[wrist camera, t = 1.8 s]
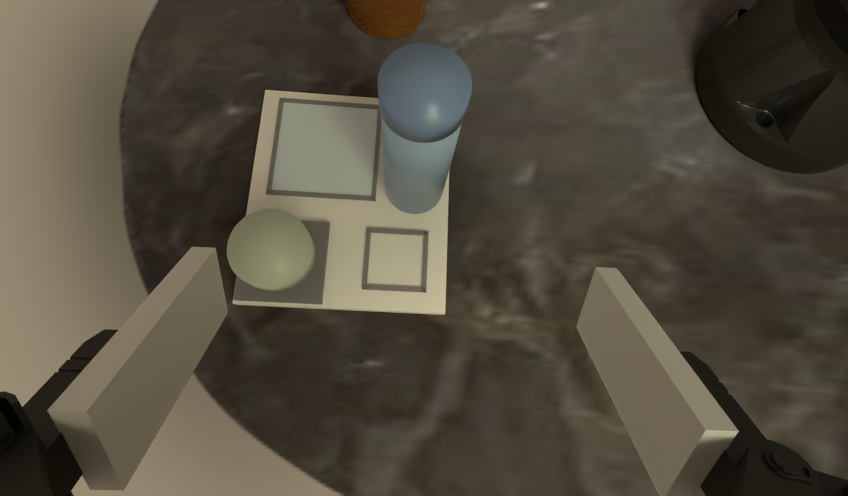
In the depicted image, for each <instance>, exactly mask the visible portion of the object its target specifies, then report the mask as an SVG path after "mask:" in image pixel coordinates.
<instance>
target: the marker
mask: <svg viewBox="0 0 848 496" xmlns="http://www.w3.org/2000/svg"><path fill="white" fill-rule="evenodd" d="M471 93H472V79H471V75H470V72H469V70H468V68H467V66H466V64H465V63H464V61H463V60H462V59H461V58H460V57H459V56H458V55H457V54H455V53H454V52H453V51H451V50H449V49H447V48H445V47H443V46H440V45H437V44H433V43H413V44H408V45H405V46H403V47H401V48H398V49H397V50H395V51H394V52H392V53H391V54H390V55H389V56H388V57H387V58H386V59H385V61H384V62H383V64H382V66H381V68H380V70H379V74H378V98H379V109H380V113H381V130H382V146H383V162H384V178H385V191H386V195H387V197H388V199H389V201H390V202H391V203H392V205H393V206H394V207H396V208H397V209H398V210H400V211H402V212H405V213H409V214H421V213H425V212H427V211H429V210H431V209H432V208H434V207H435V206H436V205H437V204H438V202H439V201H440V199H441V197H442V194H443V190H444V186H445V183H446V179H447V176H448V172H449V168H450V165H451V161H452V158H453V154H454V150H455V147H456V143H457V140H458V136H459V132H460V129H461V125H462V122H463V120H464V118H465V115H466V111H467V108H468V104H469V100H470V97H471Z"/></svg>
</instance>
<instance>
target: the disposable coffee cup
mask: <svg viewBox="0 0 848 496" xmlns="http://www.w3.org/2000/svg"><path fill="white" fill-rule="evenodd" d="M346 2H347V6H348V9H349V13H350V16H351V18H352V20H353V22H354V23H355V24H356V25H357V26H358V27H359V28H360V29H361V30H362V31H363V32H365V33H367V34H369V35H371V36H374V37H378V38H385V39H389V38H397V37H401V36H404V35H407V34H408V33H410V32H412V31H413V30H414V29H415V28H416V27H417V26H418V25H419V24H420V22H421V21H422V18H423V16H424V11H425V7H426V3H427V0H346Z"/></svg>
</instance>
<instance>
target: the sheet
mask: <svg viewBox="0 0 848 496" xmlns="http://www.w3.org/2000/svg"><path fill="white" fill-rule="evenodd" d="M448 197H449V172H448V176H447V179H446V183H445V186H444V190H443V194H442V197H441V199H440V201H439V202H438V204H437V205H436V206H435V207H434V208H432V209H431V210H429V211H427V212H425V213H421V214H409V213H405V212H402V211H400V210H398V209H397V208H396V207H394V206H393V205H392V203H391V202H390V201H389V199H388V197H387V195H386V191H385V178H384V162H383V146H382V130H381V113H380V109H379V98H369V97H355V96H342V95H328V94H315V93H301V92H288V91H274V90H265V95H264V101H263V108H262V114H261V121H260V127H259V134H258V140H257V147H256V153H255V160H254V166H253V173H252V179H251V186H250V192H249V199H248V205H247V212H246V216H247V215H249V214H251V213H253V212H255V211H258V210H262V209H280V210H284V211H287V212H289V213H291V214H293V215H294V216H296V217H297V218H298V219H299V220H300V221H301V222H302V223H303V225H304V226H305V227H306V229H307V230H308V232H309V233H310V235H311V237H312V238H313V241H314V244H315V248H316V258H315V263H314V266H313V268H312V270H311V272H310V274H309V275H308V277H307V278H306V279H305V280H304V281H303V282H302V283H300V284H299V285H298V286H296V287H294V288H292V289H290V290H287V291H283V292H266V291H262V290H260V289H258V288H256V287H254V286H252V285H250V284H248V283H246V282H244V281H243V280H241V279H240V278H239V277H238V276H237V277H236V283H235V290H234V296H233V304H236V305H250V306H270V307H291V308H312V309H333V310H354V311H374V312H395V313H416V314H437V315H444V314H445V303H446V268H447V232H448Z"/></svg>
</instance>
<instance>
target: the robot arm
mask: <svg viewBox="0 0 848 496" xmlns="http://www.w3.org/2000/svg"><path fill="white" fill-rule="evenodd" d="M696 78H697V86H698V91H699V95H700V98H701V101H702V103H703V106H704V108H705V110H706V112H707V114H708V115H709V117H710V119H711V120H712V122H713V123H714V125H715V126H716V127H717V129H718V130H719V131H720V132H721V133H722V134H723V136H724V137H725V138H726V139H727V140H728V141H729V142H731V143H732V144H733V145H734V146H735V147H736V148H738V149H739V150H740V151H742V152H743V153H745V154H746V155H748V156H749V157H751V158H753V159H754V160H756V161H758V162H760V163H762V164H765V165H767V166H770V167H772V168H775V169H778V170H782V171H786V172H792V173H801V174H812V173H821V172H826V171H829V170H832V169H835V168H838V167H840V166H842V165H844V164H847V163H848V0H752V1H750V2H749V3H747V4H745V5H743V6H742V7H740V8H739V9H737V10H736V11H735V12H734V13H732V14H731V15H730V16H729V17H728V18H727V19H726V20H725V21H724V22H723V23H722V24H721V25H720V26H719V27H718V28H717V29H716V30H715V31H714V32H713V33H712V34H711V35H710V36H709V38H708V39H707V40H706V42H705V43H704V45H703V47H702V49H701V52H700V54H699V58H698V62H697V70H696ZM227 313H228V309H227V304H226V299H225V294H224V289H223V284H222V278H221V273H220V268H219V263H218V258H217V253H216V248H209V247H191V249H190V250H189V251H188V252H187V253H186V254H185V255H184V256H183V258H182V259H181V260H180V261H179V262H178V263H177V264H176V265H175V267H174V268H173V269H172V270H171V271H170V272H169V273H168V275H167V276H166V277H165V278H164V279H163V280H162V281H161V282H160V284H159V285H158V286H157V287H156V288H155V289H154V290H153V291H152V293H151V294H150V295H149V296H148V297H147V298H146V299H145V300H144V302H143V303H142V304H141V305H140V306H139V307H138V308H137V310H136V311H135V312H134V313H133V314H132V315H131V317H130V318H129V319H128V320H127V321H126V322H125V323H124V324H123V325H122V327H121V328H120V329H119V330H103V331H101V332H100V333H98V334H97V335H95V336H93V337H92V338H90V339H89V340H87V341H85V342H84V343H83V344H82V345H81V346H80V347H79V349H77V351H76V352H75V353H74V354H73V355H72V356H71V358H70V360H67V361H66V362H65V363H64V364H63V365H62V366H61V368H59V371H58V372H56V373H55V374H54V375H53V376H52V377H51V378H50V379H49V380H48V381H47V382H46V383H45V384H44V385H43V386H42V387H41V388H40V390H38V391H37V393H36V394H35V395H34V396H33V397H32V398H31V399H30V400H29V401H28V402H27V403H26V404H25V405H24V406H23V407H22V406H21V404H20V403H19V401H18V399H17V398H16V396H15V395H14V394H11V393H7V392H0V496H73V494H72V492H71V490H72V488H73V487H74V486H75V484H76V483H77V481H78V480H79V478H80V477H81V476H83V477H84V479H85V481H86V483H87V485H88V487H89V489H90V490H124V489H125V487H126V486H127V484H128V482H129V480H130V479H131V477H132V475H133V474H134V472H135V470H136V469H137V467H138V465H139V463H140V462H141V460H142V458H143V457H144V455H145V453H146V452H147V450H148V448H149V446H150V445H151V443H152V441H153V439H154V438H155V436H156V434H157V433H158V431H159V429H160V427H161V426H162V424H163V422H164V421H165V419H166V417H167V416H168V414H169V412H170V411H171V409H172V407H173V406H174V404H175V402H176V400H177V399H178V397H179V395H180V393H181V392H182V390H183V388H184V387H185V385H186V383H187V382H188V380H189V378H190V377H191V375H192V373H193V371H194V370H195V368H196V366H197V365H198V363H199V361H200V360H201V358H202V356H203V354H204V353H205V351H206V349H207V348H208V346H209V344H210V342H211V341H212V339H213V337H214V336H215V334H216V332H217V331H218V329H219V327H220V325H221V324H222V322H223V320H224V319H225V317H226V315H227ZM576 328H577V330H578V332H579V334H580V336H581V338H582V340H583V342H584V344H585V346H586V348H587V350H588V352H589V354H590V356H591V358H592V360H593V362H594V364H595V366H596V368H597V370H598V372H599V374H600V376H601V378H602V380H603V383H604V385H605V387H606V389H607V391H608V393H609V395H610V397H611V399H612V401H613V403H614V405H615V407H616V409H617V411H618V413H619V415H620V417H621V419H622V421H623V423H624V425H625V427H626V429H627V431H628V433H629V435H630V437H631V439H632V441H633V443H634V445H635V448H636V450H637V452H638V454H639V456H640V458H641V460H642V462H643V464H644V466H645V468H646V470H647V472H648V474H649V476H650V478H651V480H652V482H653V484H654V486H655V488H656V490H657V492H658V494H659V496H696V494H697V493H698V491H699V490H700V488H702V490H703V492H704V493H705V495H706V496H848V480H845V479H842V478H839V477H835V476H832V475H828V474H825V473H822V472H818V471H815V470H813V469H812V467H811V466H810V465H809V463H808V462H806V461H805V460H804V459H803V458H802V457H801V456H800V455H798V454H797V453H796V452H794V451H792V450H791V449H789V448H788V447H786V446H784V445H782V444H779V443H776V442H774V441H771V440H767V439H766V438H765V437H764V436H763V434H762V433H761V432H760V431H759V429H758V428H757V427H756V425H755V424H754V423H753V422H752V420H751V419H750V418H749V417H748V415H747V414H746V413H745V412H744V410H743V409H742V408H741V407H740V405H739V404H738V403H737V402H736V400H735V399H734V398H733V397H732V395H729V394H728V390H727V389H726V388H725V387H724V385H723V384H722V383H719V379H718V378H717V377H716V375H715V374H714V373H713V372H712V370H711V369H710V368H709V367H708V365H707V364H705V363H704V362H703V361H701V360H700V359H699V358H698V357H696V356H695V355H694V354H692V353H691V352H679V351H678V349H677V348H676V347H675V345H674V344H673V343H672V341H671V340H670V339H669V337H668V336H667V335H666V333H665V332H664V331H663V329H662V328H661V327H660V325H659V324H658V323H657V321H656V320H655V319H654V317H653V316H652V315H651V313H650V312H649V311H648V309H647V308H646V307H645V305H644V304H643V303H642V301H641V300H640V299H639V297H638V296H637V295H636V293H635V292H634V291H633V289H632V288H631V286H630V285H629V284H628V282H627V281H626V280H625V278H624V277H623V276H622V274H621V273H620V272H619V270H618V269H617V268H602V267H596V268H595V271H594V274H593V277H592V280H591V283H590V287H589V290H588V293H587V296H586V299H585V302H584V305H583V308H582V311H581V314H580V317H579V321H578V324H577V327H576Z"/></svg>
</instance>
